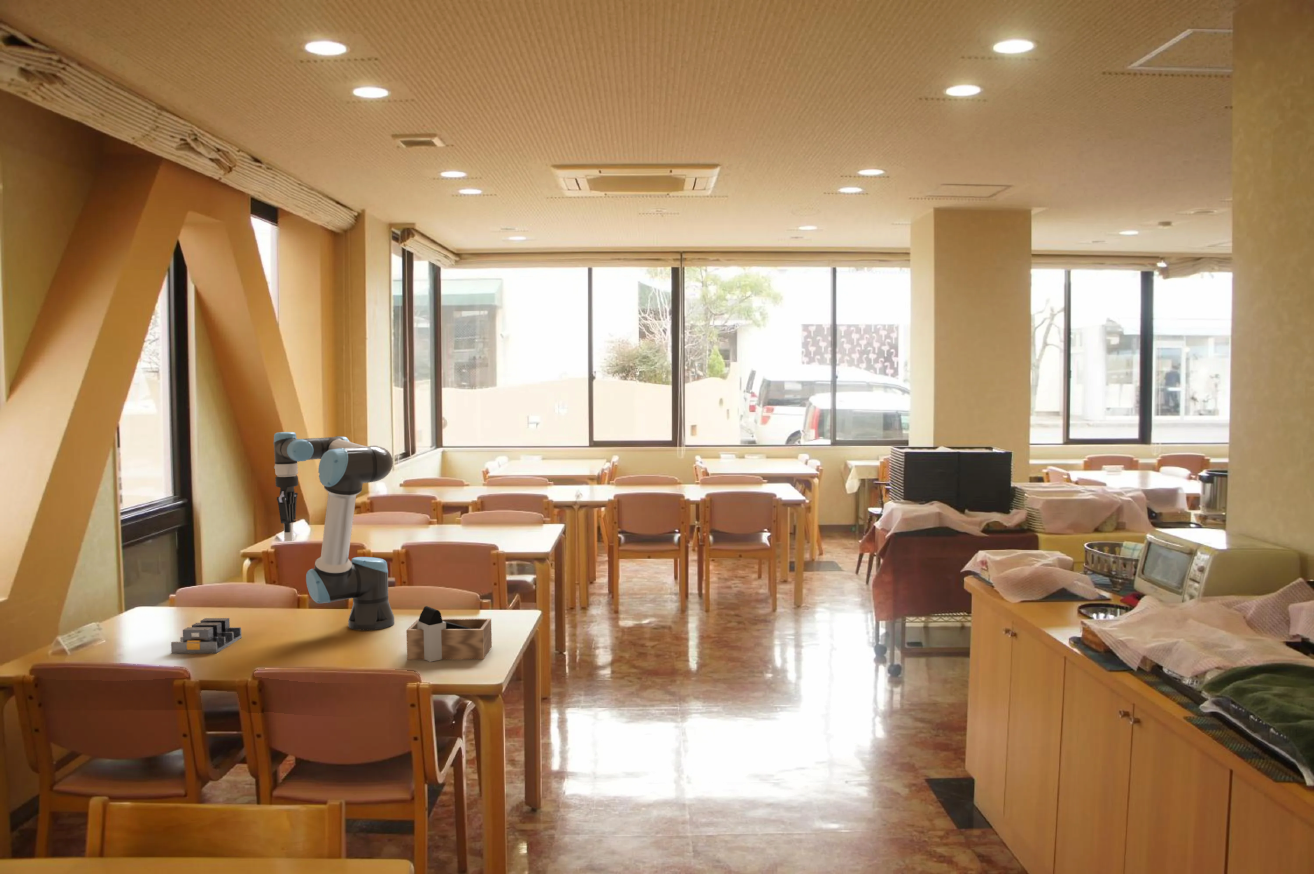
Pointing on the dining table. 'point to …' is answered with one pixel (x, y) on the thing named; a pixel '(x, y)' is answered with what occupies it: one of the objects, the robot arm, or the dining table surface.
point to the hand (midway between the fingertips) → (289, 540)
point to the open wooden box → (454, 640)
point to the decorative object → (434, 632)
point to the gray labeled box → (198, 634)
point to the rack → (221, 638)
